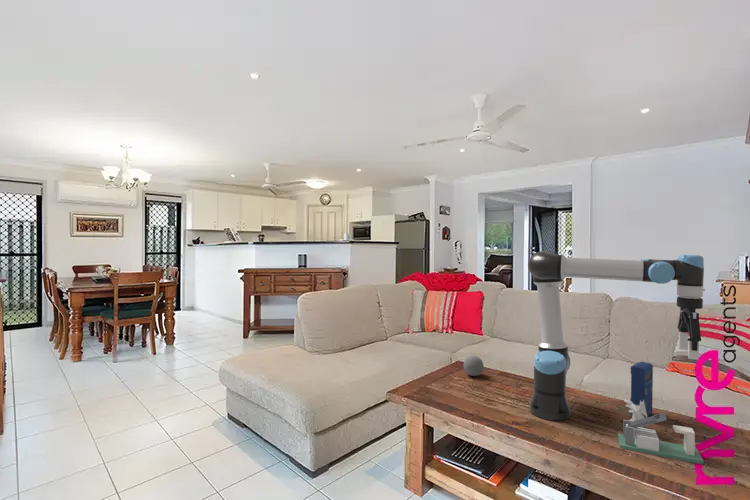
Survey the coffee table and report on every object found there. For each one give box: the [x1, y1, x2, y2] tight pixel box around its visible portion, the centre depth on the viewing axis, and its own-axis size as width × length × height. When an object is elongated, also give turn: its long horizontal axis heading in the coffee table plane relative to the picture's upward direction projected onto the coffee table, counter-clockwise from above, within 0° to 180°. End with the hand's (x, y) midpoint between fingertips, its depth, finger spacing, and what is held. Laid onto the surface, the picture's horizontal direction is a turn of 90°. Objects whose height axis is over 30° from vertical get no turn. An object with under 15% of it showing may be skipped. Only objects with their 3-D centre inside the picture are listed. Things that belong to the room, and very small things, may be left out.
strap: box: [625, 412, 667, 428], centre depth 132 cm, size 12×4×2 cm, turn 62°
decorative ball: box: [463, 355, 485, 377], centre depth 203 cm, size 10×10×10 cm
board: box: [617, 419, 705, 465], centre depth 131 cm, size 22×9×7 cm, turn 63°
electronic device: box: [629, 361, 654, 418], centre depth 156 cm, size 10×5×20 cm, turn 127°
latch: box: [672, 424, 696, 456], centre depth 128 cm, size 5×4×7 cm
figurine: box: [623, 398, 648, 428], centre depth 144 cm, size 11×8×12 cm
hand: (688, 354), depth 147 cm, fingers open, 13 cm apart
